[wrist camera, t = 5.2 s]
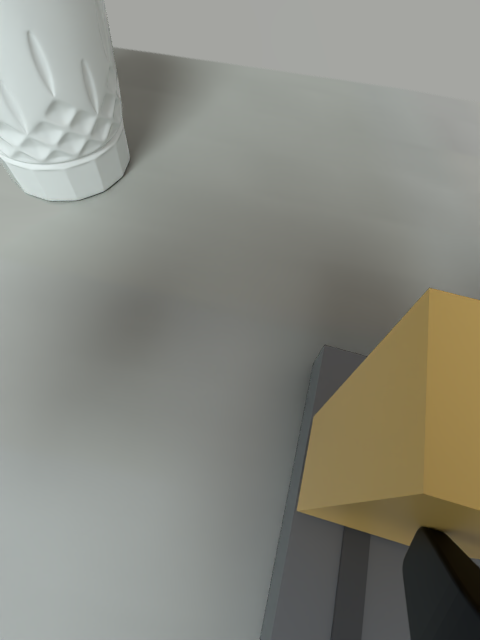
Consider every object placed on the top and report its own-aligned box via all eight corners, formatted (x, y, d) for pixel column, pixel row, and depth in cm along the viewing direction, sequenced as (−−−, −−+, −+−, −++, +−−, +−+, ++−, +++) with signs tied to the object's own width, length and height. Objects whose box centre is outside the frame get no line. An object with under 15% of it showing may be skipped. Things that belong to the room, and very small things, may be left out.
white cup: (72, 105, 24) (-10, -129, 16) (167, 153, 22) (134, -82, 14) (-30, 171, 21) (-210, -81, 12) (71, 233, 19) (-54, -10, 10)
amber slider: (427, 551, 11) (800, 605, 4) (296, 510, 11) (423, 493, 4) (430, 450, 12) (706, 357, 5) (313, 416, 13) (429, 287, 6)
